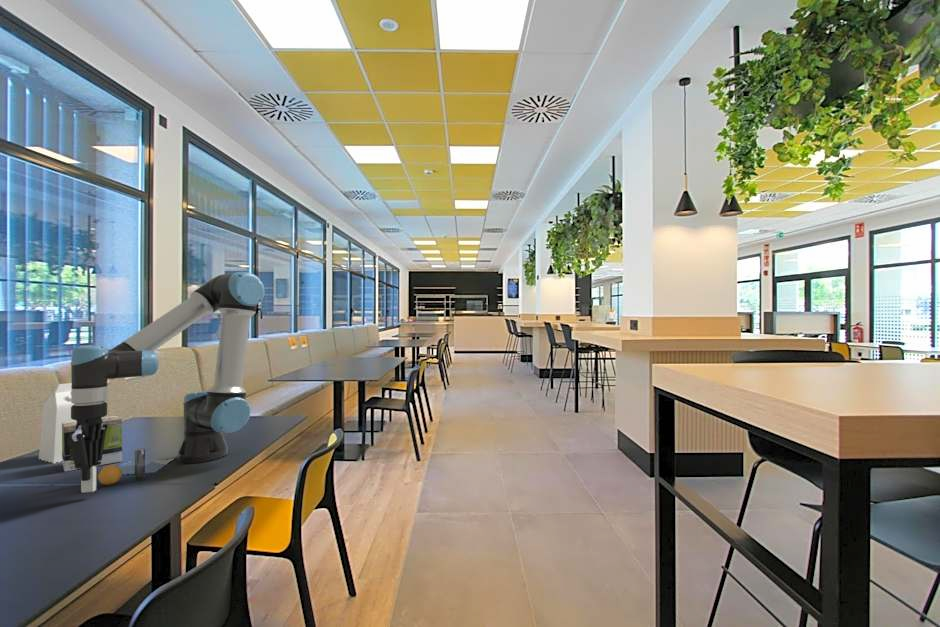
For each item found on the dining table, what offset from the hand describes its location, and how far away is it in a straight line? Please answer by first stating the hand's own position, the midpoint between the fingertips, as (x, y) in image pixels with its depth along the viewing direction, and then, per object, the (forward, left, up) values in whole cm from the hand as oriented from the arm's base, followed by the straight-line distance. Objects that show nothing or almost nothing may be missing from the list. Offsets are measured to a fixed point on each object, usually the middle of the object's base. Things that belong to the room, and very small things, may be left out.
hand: (88, 491), depth 121 cm
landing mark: (0, -27, -2) cm, 27 cm away
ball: (+1, -11, +1) cm, 11 cm away
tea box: (+18, -35, -2) cm, 39 cm away
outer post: (+6, -13, -2) cm, 15 cm away
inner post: (-6, -13, -2) cm, 15 cm away
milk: (+32, -47, -2) cm, 57 cm away
